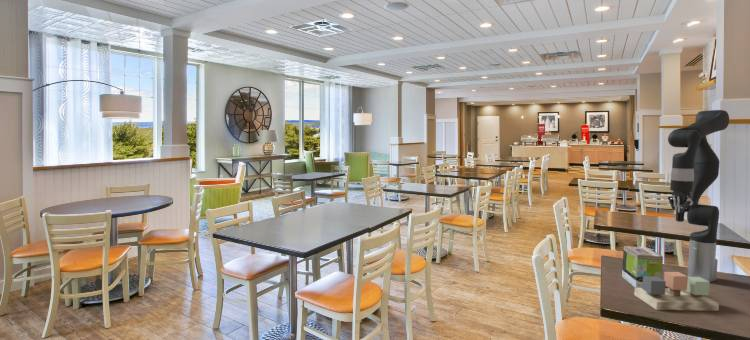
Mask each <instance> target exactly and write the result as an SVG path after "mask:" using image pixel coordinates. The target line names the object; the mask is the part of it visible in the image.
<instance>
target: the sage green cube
mask: <svg viewBox="0 0 750 340" xmlns="http://www.w3.org/2000/svg"><path fill="white" fill-rule="evenodd" d="M710 283H711V282H709V281H707V280H705V279H703V278H701V277H688V284H687V290H686V291H688V292H690V293H692V294H694V295H705V296H709V295H710Z"/></svg>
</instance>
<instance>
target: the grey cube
mask: <svg viewBox="0 0 750 340" xmlns="http://www.w3.org/2000/svg"><path fill="white" fill-rule="evenodd" d="M665 285H666V281H664V278H663V279H661V278H659V277H657V276H643V290H645V291H646V292H648V293H649V294H662V295H665V288H666V286H665Z"/></svg>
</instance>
